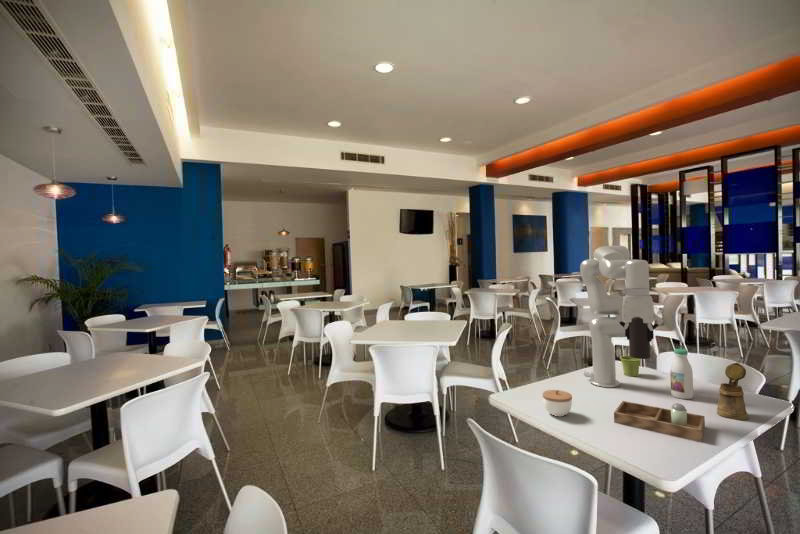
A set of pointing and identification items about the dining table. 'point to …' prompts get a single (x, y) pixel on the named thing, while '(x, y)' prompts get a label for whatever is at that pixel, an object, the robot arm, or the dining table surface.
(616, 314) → the robot arm
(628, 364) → the plant pot
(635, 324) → the vinegar
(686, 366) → the milk bottle
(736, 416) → the burlap money sack
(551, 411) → the lidded jar
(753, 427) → the dining table surface
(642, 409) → the caddy
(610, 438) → the dining table surface
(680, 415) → the shaker
